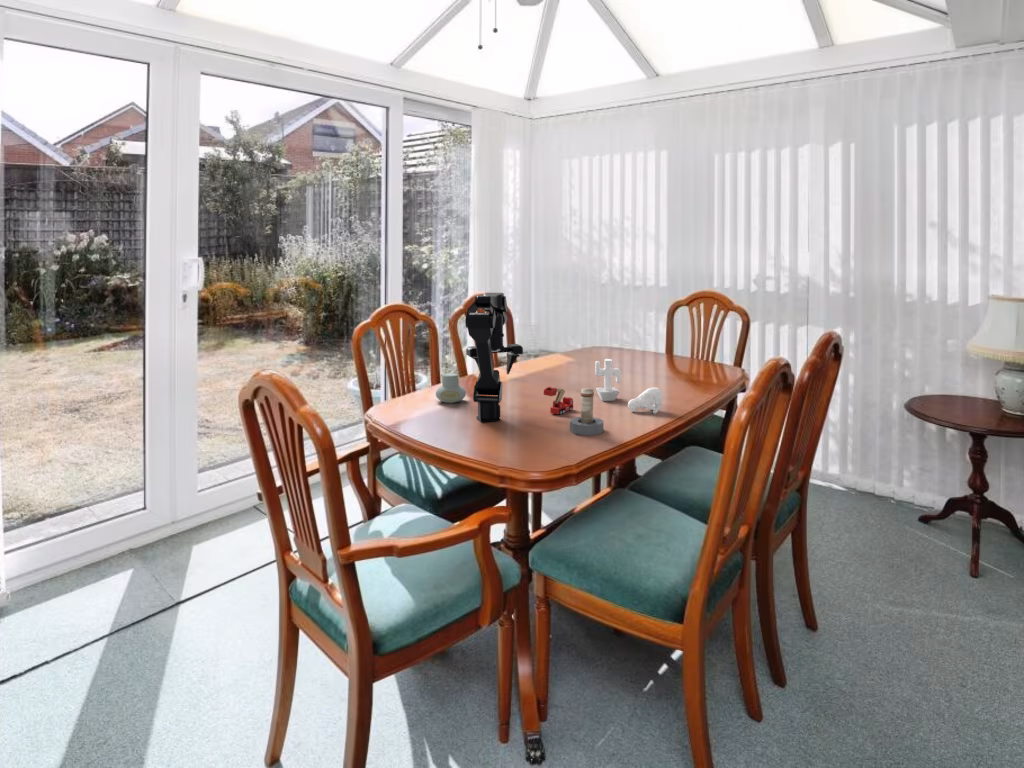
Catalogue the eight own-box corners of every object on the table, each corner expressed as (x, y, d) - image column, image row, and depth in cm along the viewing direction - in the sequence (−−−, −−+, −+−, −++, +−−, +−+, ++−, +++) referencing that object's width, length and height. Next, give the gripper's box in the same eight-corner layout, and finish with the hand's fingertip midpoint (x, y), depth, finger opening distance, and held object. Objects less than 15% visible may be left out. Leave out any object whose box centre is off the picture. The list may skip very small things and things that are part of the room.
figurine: (622, 401, 233) (623, 360, 230) (596, 402, 232) (597, 361, 229) (617, 396, 240) (618, 357, 237) (592, 397, 239) (593, 357, 236)
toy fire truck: (574, 409, 222) (574, 382, 220) (551, 418, 212) (551, 389, 209) (566, 408, 224) (566, 381, 222) (543, 416, 214) (543, 388, 212)
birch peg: (587, 433, 195) (588, 391, 192) (577, 430, 197) (578, 389, 195) (595, 430, 197) (596, 389, 194) (586, 427, 200) (586, 387, 197)
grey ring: (578, 436, 191) (578, 426, 191) (565, 427, 200) (565, 418, 200) (608, 433, 194) (609, 423, 194) (594, 424, 204) (594, 415, 203)
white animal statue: (663, 389, 214) (629, 392, 214) (664, 413, 216) (630, 416, 216) (658, 385, 220) (625, 388, 220) (660, 408, 222) (626, 412, 222)
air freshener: (434, 404, 230) (434, 376, 228) (437, 398, 238) (436, 372, 236) (465, 404, 230) (464, 376, 228) (466, 398, 238) (466, 372, 236)
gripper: (513, 325, 227) (513, 369, 231) (461, 328, 222) (462, 372, 225) (523, 329, 217) (523, 375, 220) (470, 332, 211) (470, 378, 215)
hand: (494, 375), depth 220 cm, fingers open, 9 cm apart
